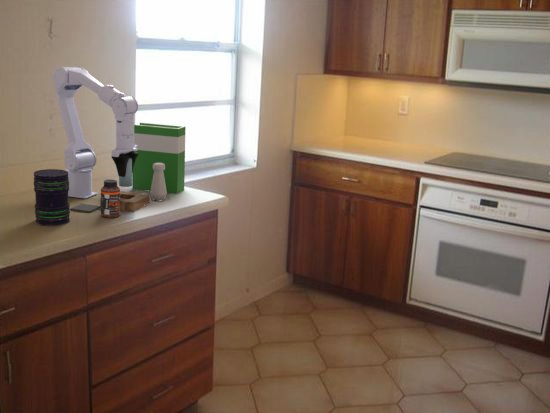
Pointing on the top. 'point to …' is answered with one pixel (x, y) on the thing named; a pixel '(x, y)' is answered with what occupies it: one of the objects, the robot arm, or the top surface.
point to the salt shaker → (158, 182)
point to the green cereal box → (159, 155)
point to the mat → (85, 208)
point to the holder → (132, 201)
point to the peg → (127, 176)
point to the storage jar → (51, 197)
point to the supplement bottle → (110, 199)
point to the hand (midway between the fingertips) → (125, 174)
